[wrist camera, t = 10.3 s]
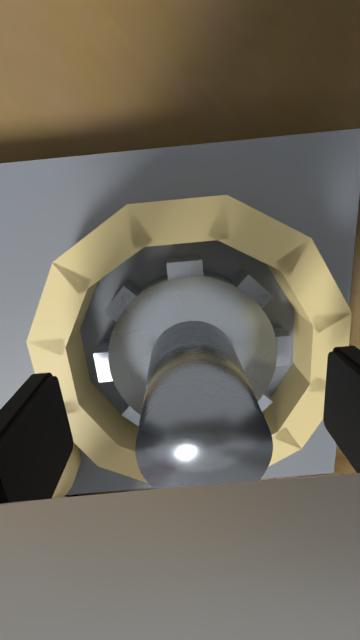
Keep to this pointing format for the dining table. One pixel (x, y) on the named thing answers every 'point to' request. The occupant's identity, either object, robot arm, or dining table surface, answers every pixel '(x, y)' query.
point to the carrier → (150, 263)
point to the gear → (195, 373)
